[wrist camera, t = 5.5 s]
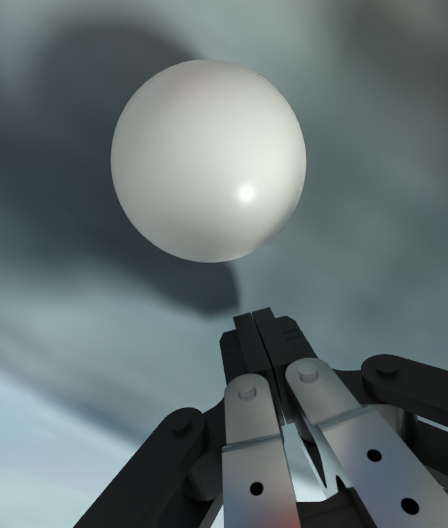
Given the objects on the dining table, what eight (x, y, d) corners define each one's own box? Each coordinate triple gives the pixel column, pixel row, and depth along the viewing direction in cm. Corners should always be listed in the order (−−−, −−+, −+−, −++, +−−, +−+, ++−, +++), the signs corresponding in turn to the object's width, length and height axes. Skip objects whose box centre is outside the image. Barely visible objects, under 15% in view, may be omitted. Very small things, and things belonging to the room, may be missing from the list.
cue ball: (348, 263, 9) (280, 197, 14) (337, 19, 6) (255, 41, 11) (152, 326, 9) (150, 237, 14) (46, 101, 6) (90, 87, 11)
